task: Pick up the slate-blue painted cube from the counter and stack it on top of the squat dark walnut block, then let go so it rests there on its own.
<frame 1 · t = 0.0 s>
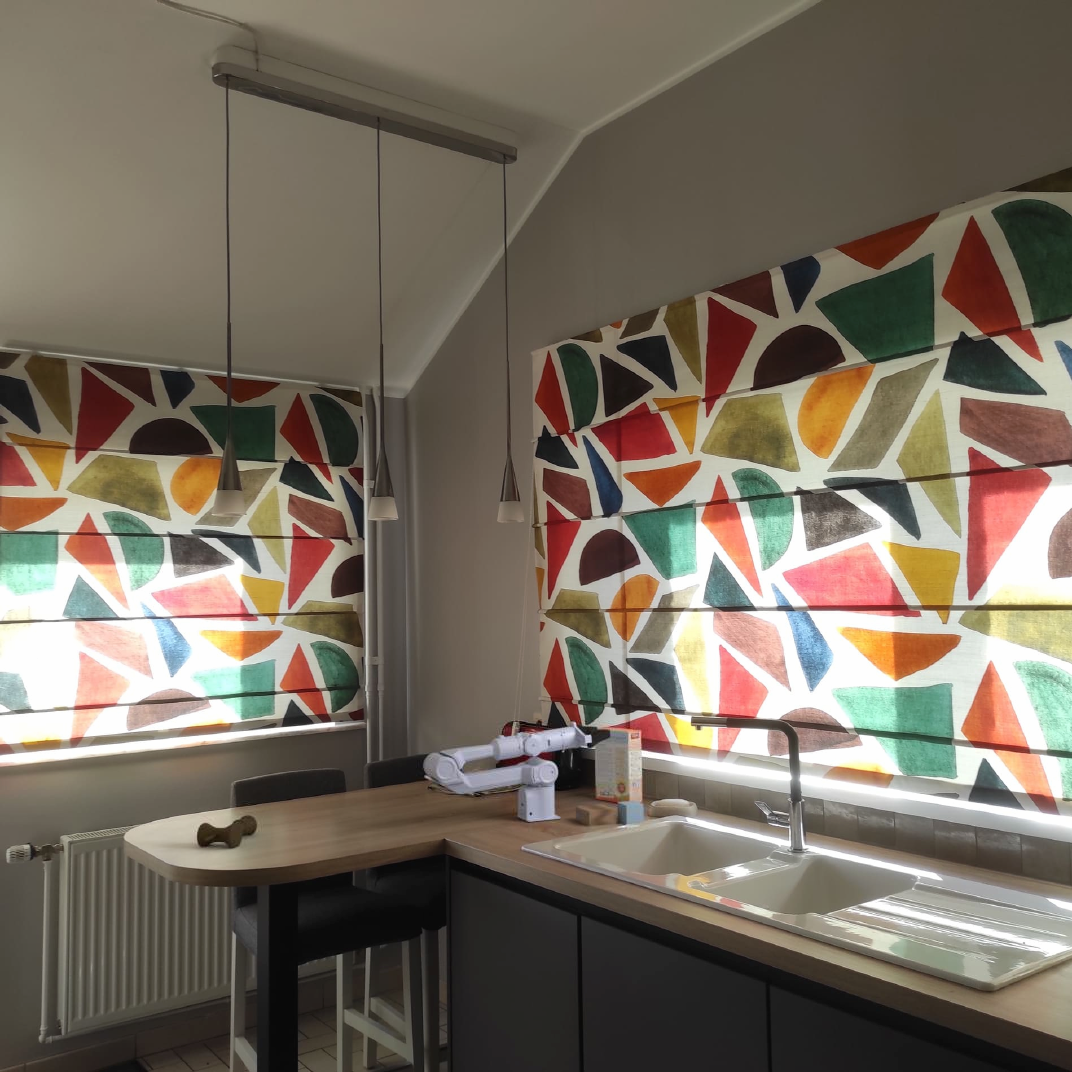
hand: (603, 732, 274), 22 cm above the worktop, tool horizontal, fingers open, 7 cm apart
slate cube: (630, 822, 259), on the worktop
cracker box: (619, 801, 288), on the worktop
walnut block: (596, 823, 259), on the worktop
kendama: (227, 844, 240), on the worktop
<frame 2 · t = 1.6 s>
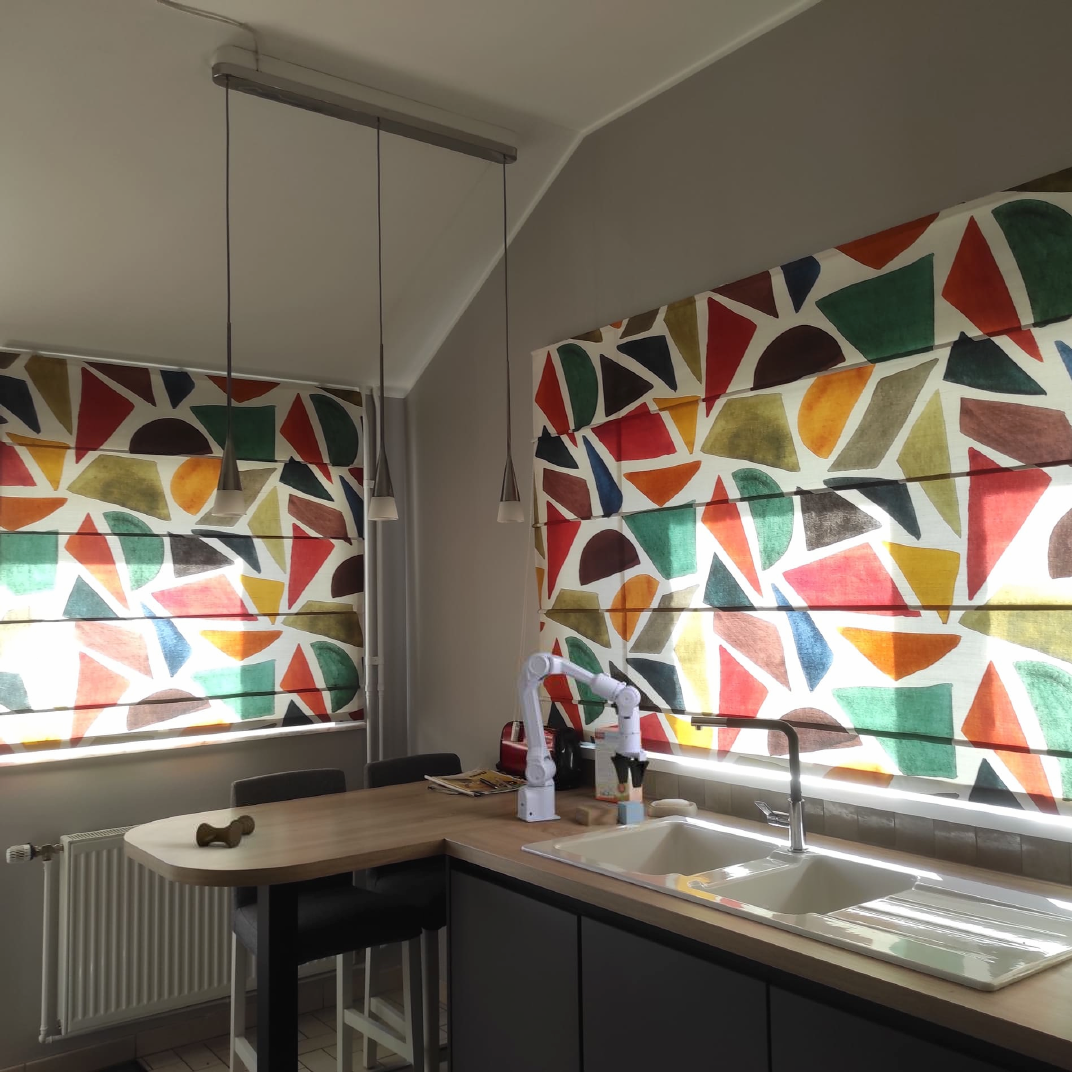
hand: (630, 785, 259), 9 cm above the worktop, tool pointing down, fingers open, 7 cm apart
nothing on the worktop moved.
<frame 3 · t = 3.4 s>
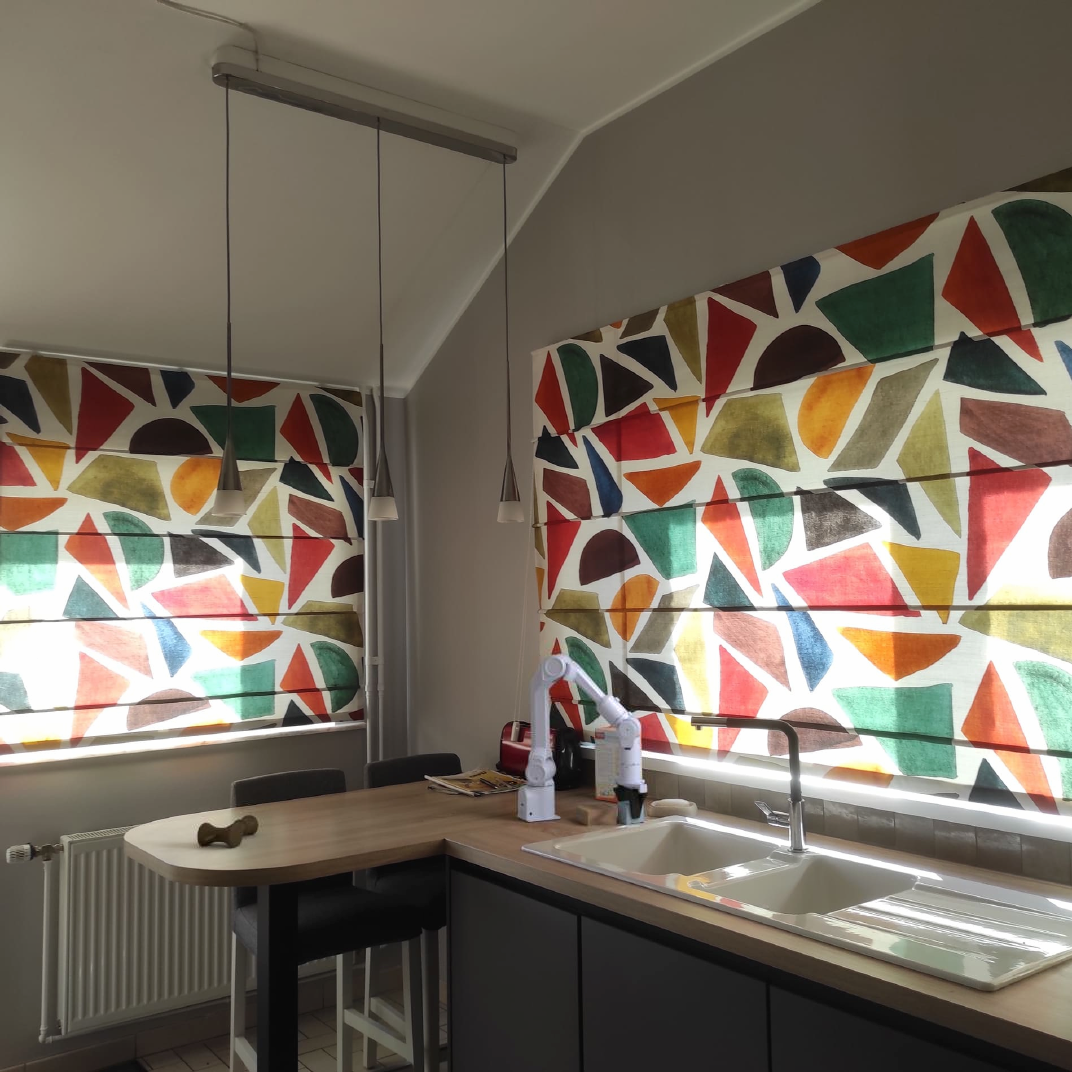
hand: (630, 816, 259), 1 cm above the worktop, tool pointing down, fingers closed on slate cube, 5 cm apart
slate cube: (630, 822, 259), on the worktop, touching gripper
everything else where it was.
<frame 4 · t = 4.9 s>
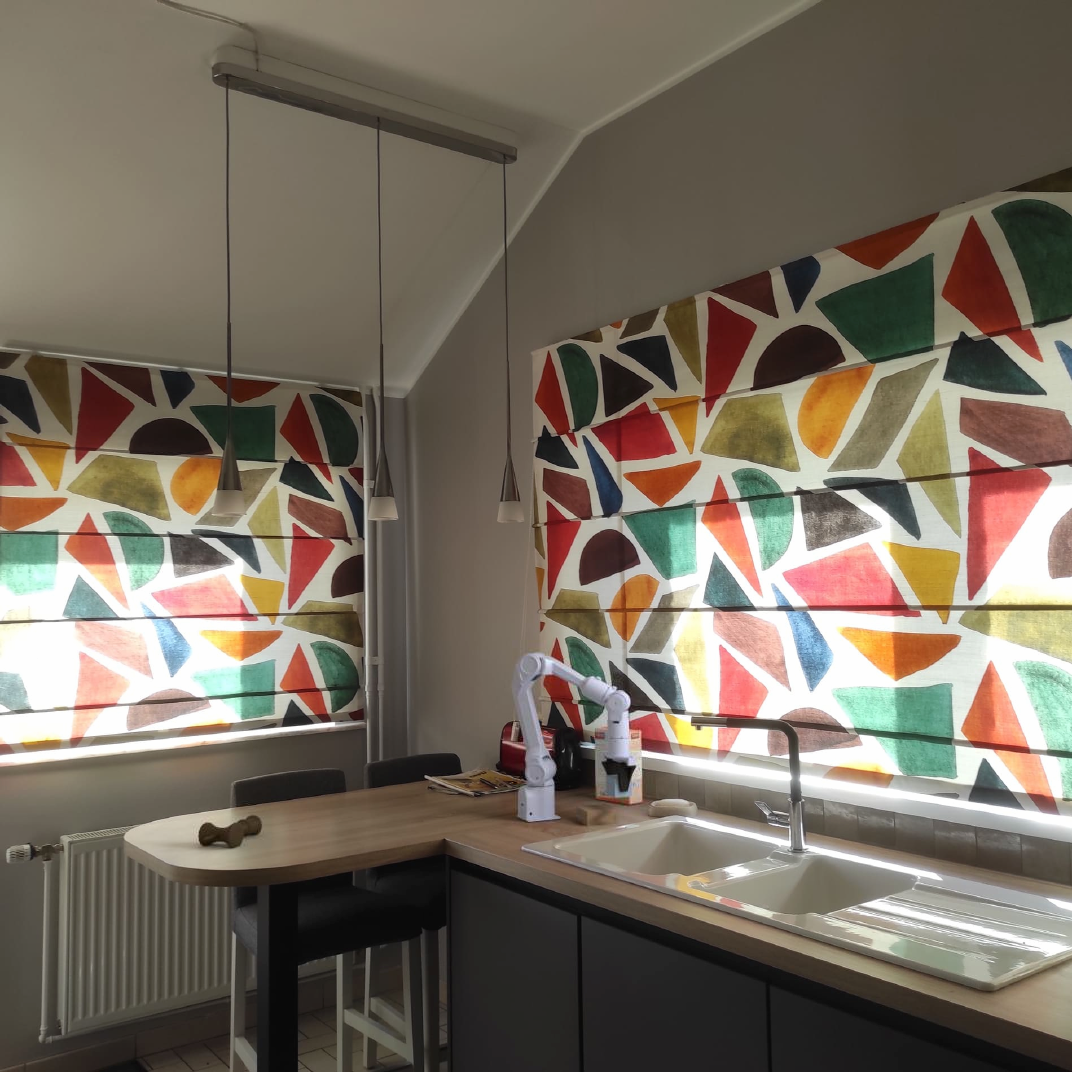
hand: (618, 789, 259), 8 cm above the worktop, tool pointing down, fingers closed on slate cube, 5 cm apart
slate cube: (619, 795, 259), point 7 cm above the worktop, touching gripper
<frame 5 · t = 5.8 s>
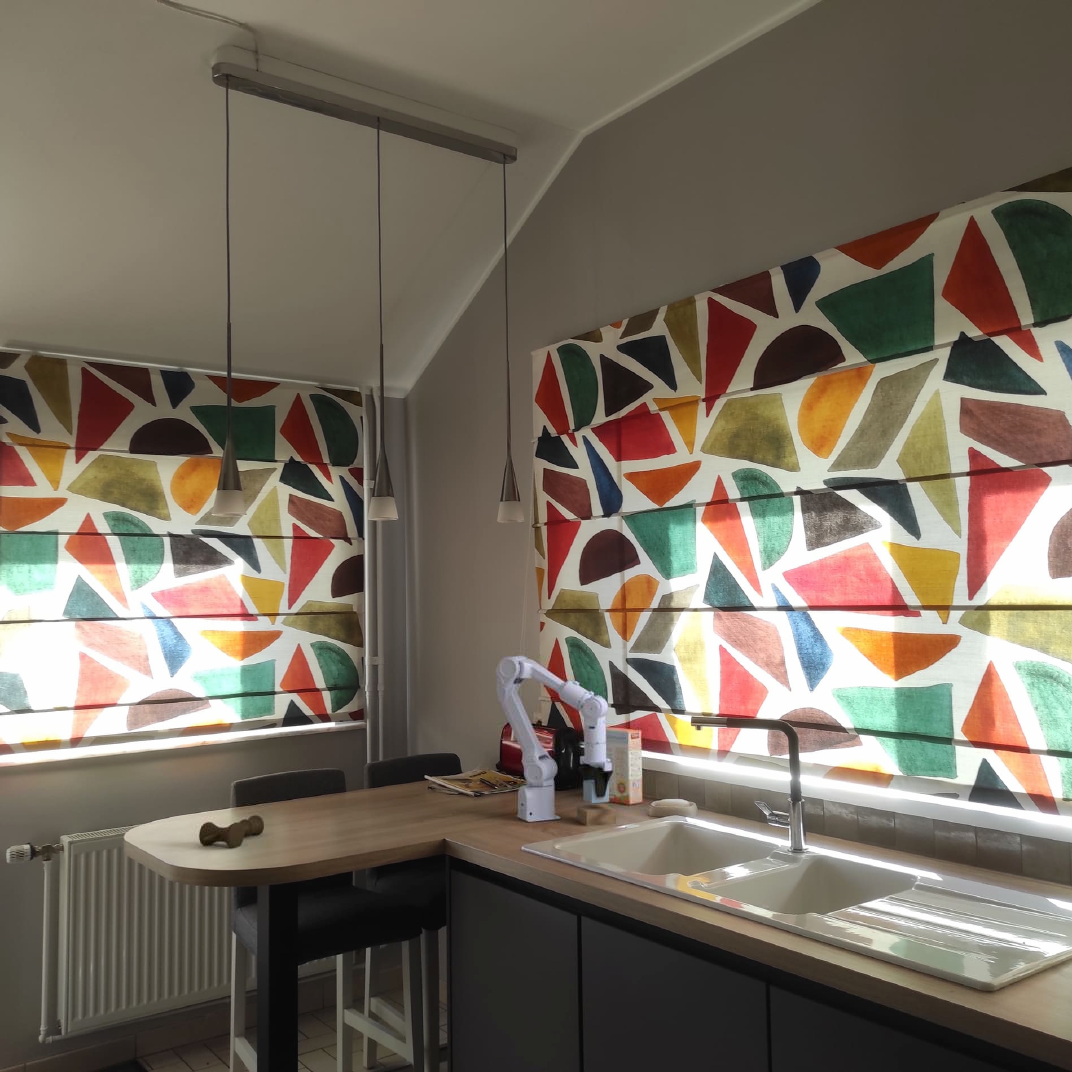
hand: (596, 795, 260), 7 cm above the worktop, tool pointing down, fingers closed on slate cube, 5 cm apart
slate cube: (596, 800, 260), point 5 cm above the worktop, touching gripper
everything else where it was.
when the fingers open (7 cm above the worktop, at t = 6.5 s): slate cube drops 2 cm, resting on walnut block.
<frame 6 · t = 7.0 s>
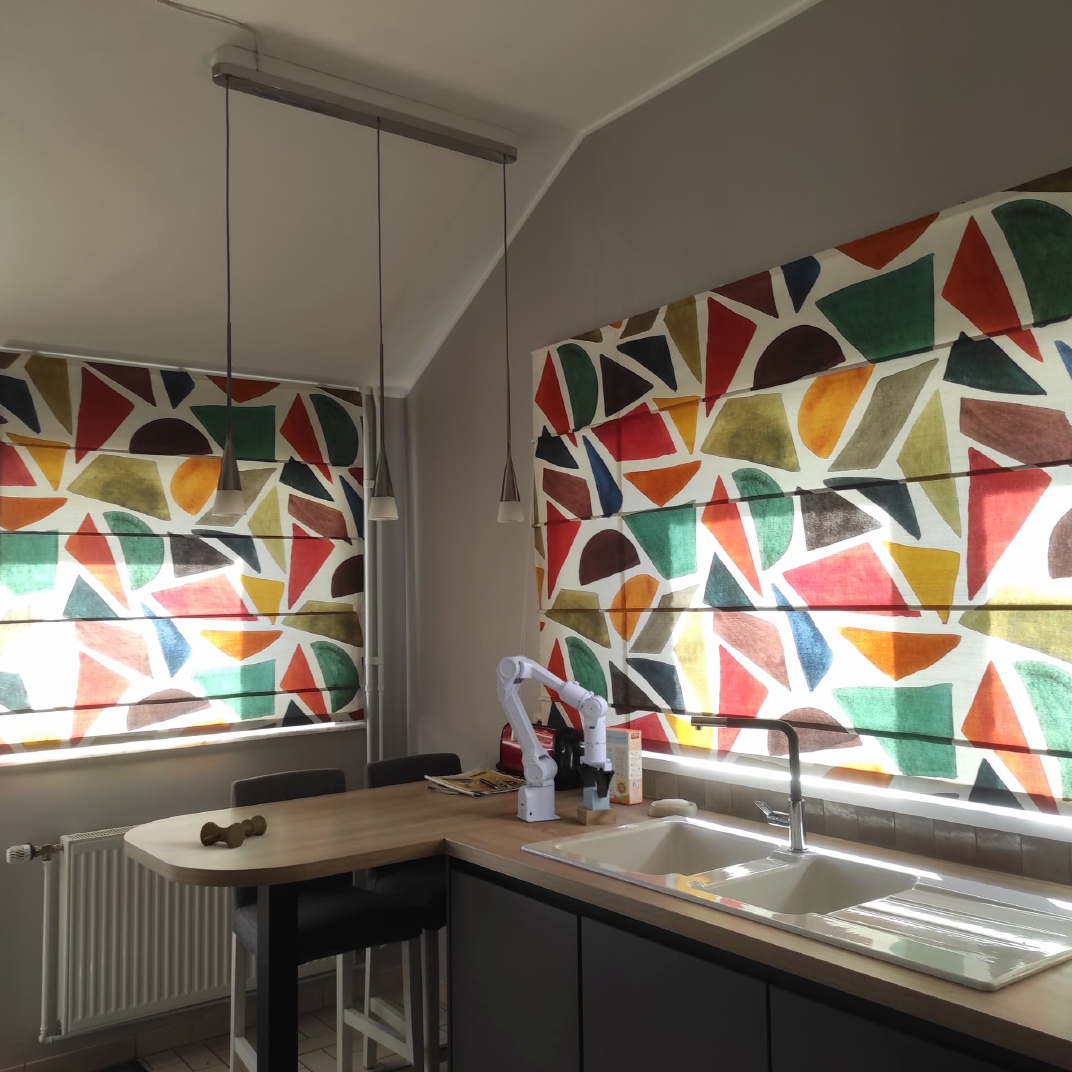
hand: (596, 795, 260), 7 cm above the worktop, tool pointing down, fingers open, 7 cm apart
slate cube: (596, 807, 259), point 4 cm above the worktop, touching walnut block
walnut block: (596, 823, 259), on the worktop, touching slate cube
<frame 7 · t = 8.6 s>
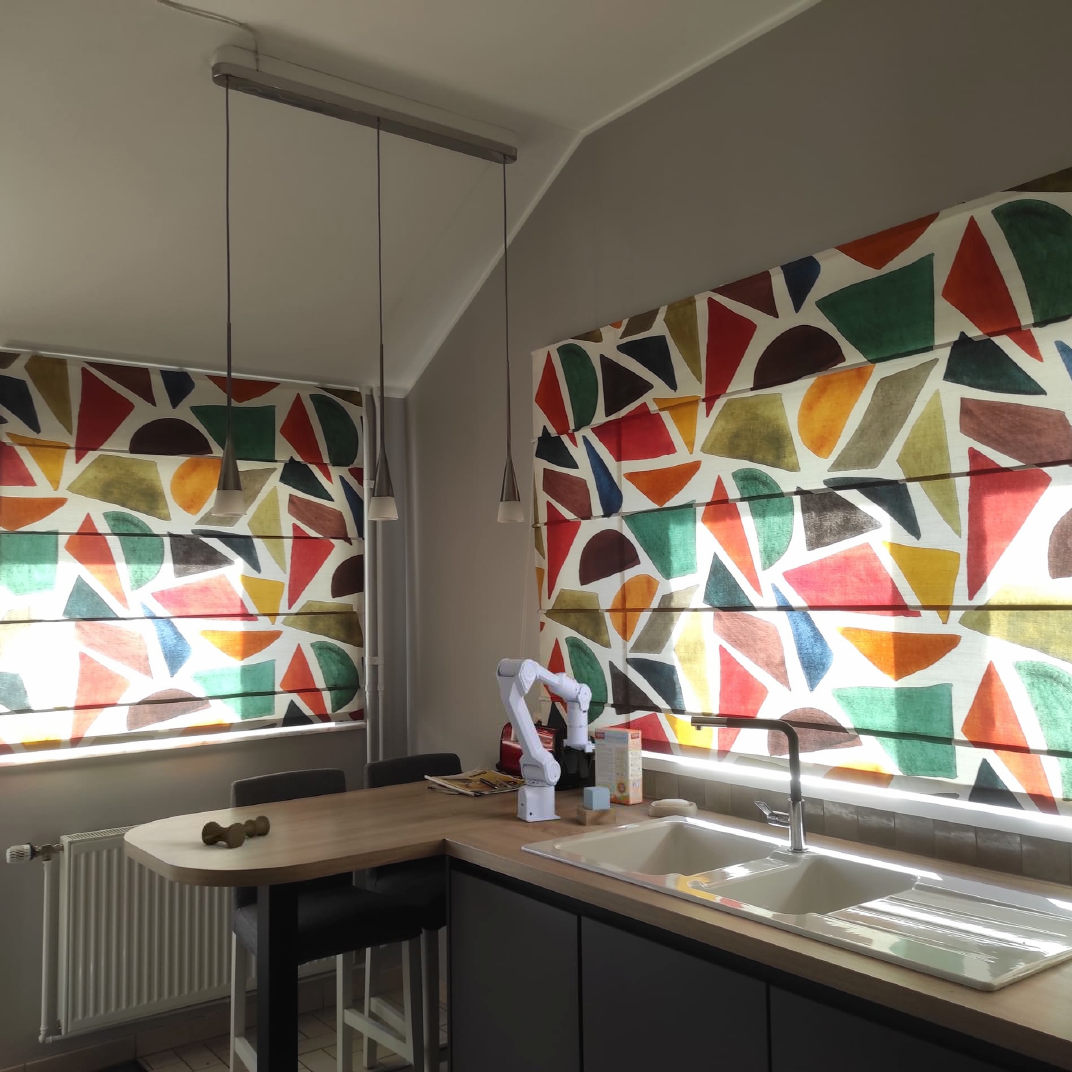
hand: (578, 775, 277), 9 cm above the worktop, tool pointing down, fingers open, 7 cm apart
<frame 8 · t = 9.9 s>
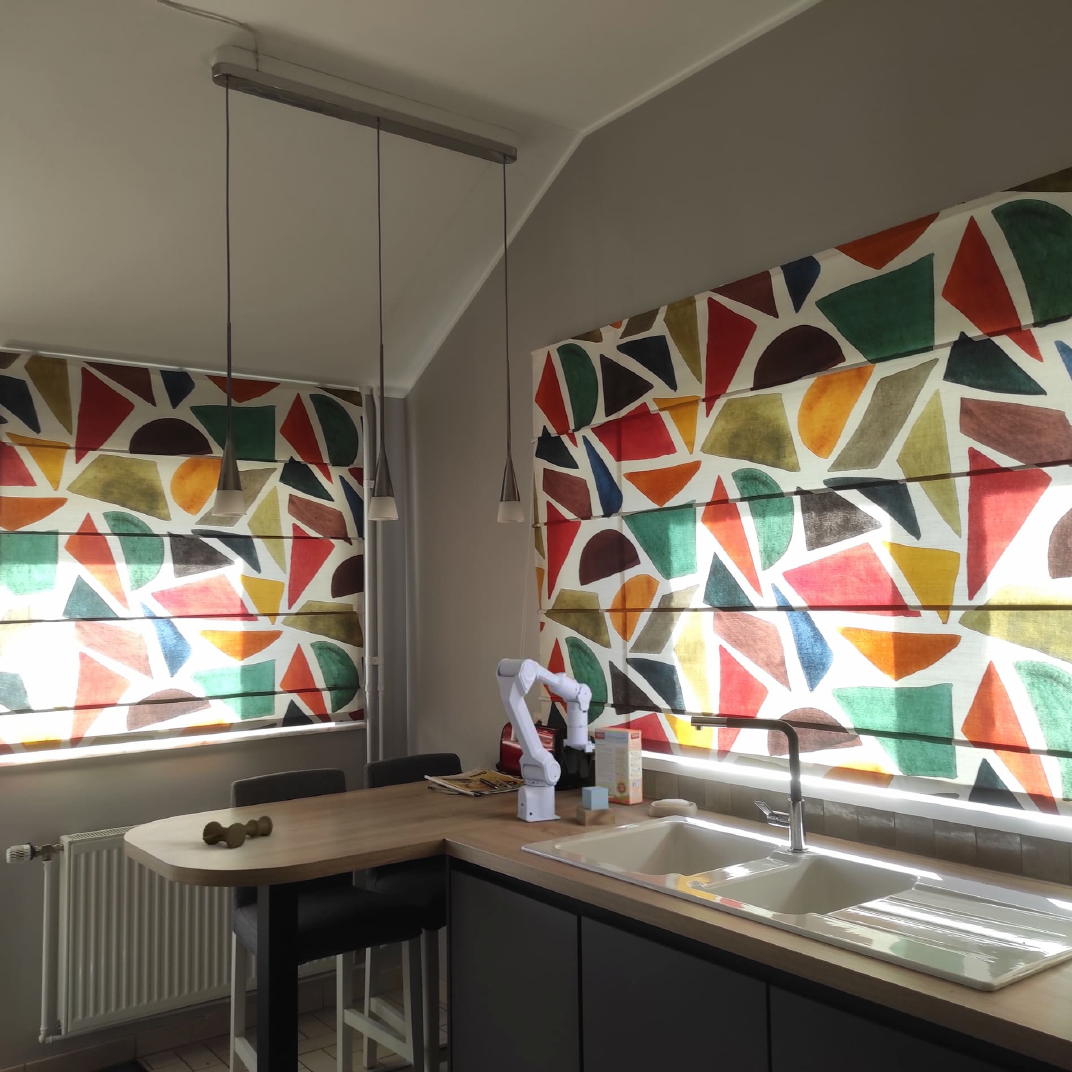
hand: (578, 775, 277), 9 cm above the worktop, tool pointing down, fingers open, 7 cm apart
slate cube: (595, 807, 259), point 4 cm above the worktop
walnut block: (595, 823, 259), on the worktop
at the end: slate cube 0.0 cm off-centre on the walnut block, point 4.0 cm above the walnut block's base; slate cube touching walnut block; the gripper is holding nothing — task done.
